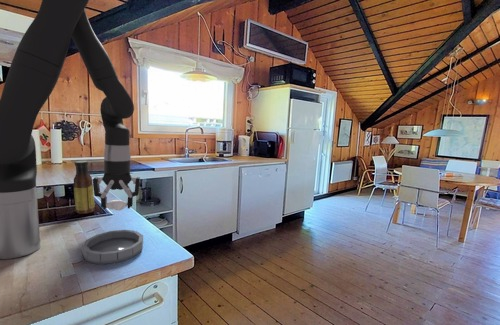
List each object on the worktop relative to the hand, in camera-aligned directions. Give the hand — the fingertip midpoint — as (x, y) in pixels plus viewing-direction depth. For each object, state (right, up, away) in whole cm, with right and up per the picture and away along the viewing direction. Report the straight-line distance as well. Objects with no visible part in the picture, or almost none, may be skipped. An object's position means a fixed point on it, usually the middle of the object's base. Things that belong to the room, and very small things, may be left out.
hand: (117, 208), depth 86 cm
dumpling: (0, -1, 0) cm, 1 cm away
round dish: (+6, -9, -14) cm, 18 cm away
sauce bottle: (-20, -4, +14) cm, 25 cm away
